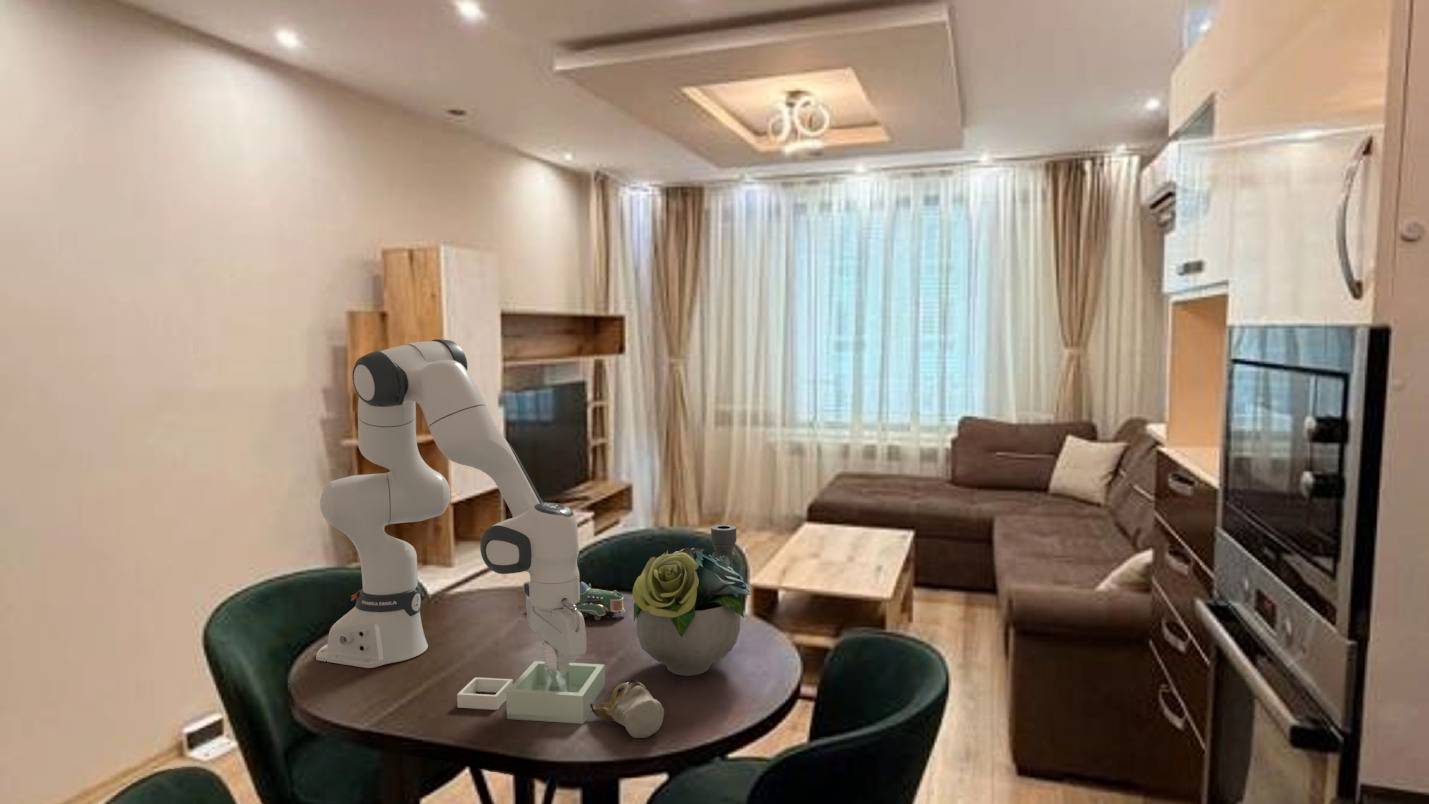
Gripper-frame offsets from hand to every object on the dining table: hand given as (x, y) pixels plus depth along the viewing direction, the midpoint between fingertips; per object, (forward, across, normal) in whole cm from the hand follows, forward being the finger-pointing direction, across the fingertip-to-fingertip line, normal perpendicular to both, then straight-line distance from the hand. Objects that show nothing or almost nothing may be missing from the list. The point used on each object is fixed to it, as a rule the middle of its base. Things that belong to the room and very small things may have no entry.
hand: (556, 666), depth 150 cm
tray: (+7, 0, 0) cm, 7 cm away
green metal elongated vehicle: (+8, +45, -24) cm, 51 cm away
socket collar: (+7, +9, +10) cm, 16 cm away
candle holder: (+7, +12, -45) cm, 47 cm away
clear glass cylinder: (+5, 0, 0) cm, 5 cm away
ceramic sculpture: (+8, -15, -8) cm, 19 cm away
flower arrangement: (+7, +1, -28) cm, 29 cm away
